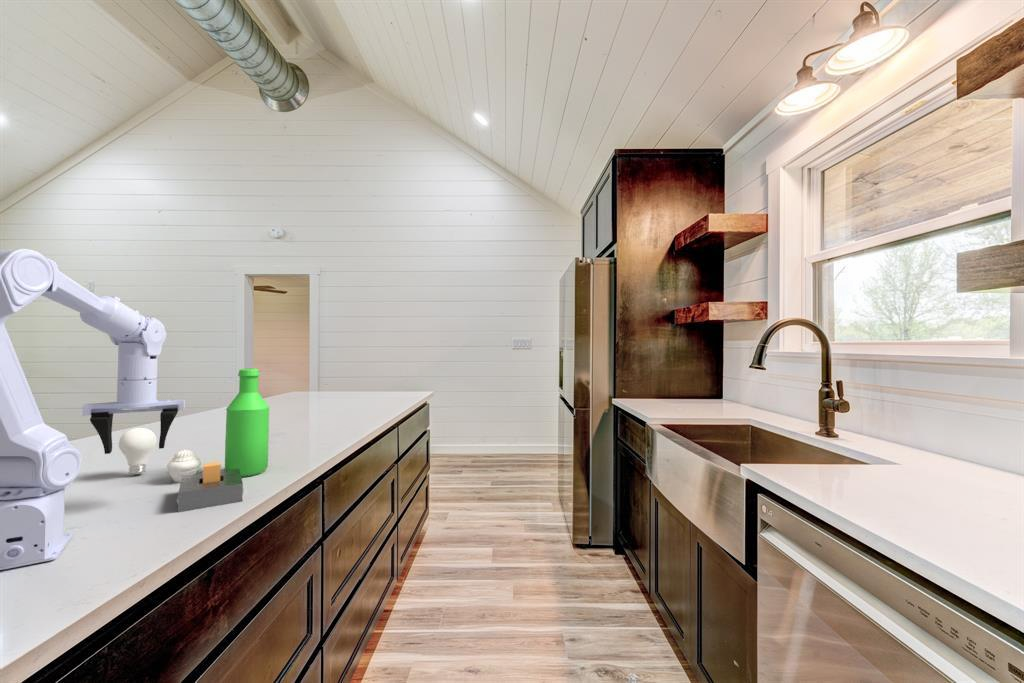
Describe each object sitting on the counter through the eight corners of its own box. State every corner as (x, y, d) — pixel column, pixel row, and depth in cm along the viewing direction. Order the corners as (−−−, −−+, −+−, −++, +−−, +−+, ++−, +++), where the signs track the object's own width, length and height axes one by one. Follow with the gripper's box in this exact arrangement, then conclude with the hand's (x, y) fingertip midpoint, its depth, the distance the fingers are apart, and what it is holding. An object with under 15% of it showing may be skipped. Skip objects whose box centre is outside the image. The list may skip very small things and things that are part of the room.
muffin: (180, 485, 92) (181, 453, 92) (159, 482, 93) (159, 451, 93) (207, 477, 98) (208, 447, 98) (187, 474, 99) (187, 445, 99)
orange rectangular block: (219, 490, 87) (220, 461, 87) (219, 494, 85) (220, 464, 85) (202, 493, 86) (203, 463, 86) (202, 497, 83) (203, 467, 83)
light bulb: (124, 472, 100) (125, 426, 100) (159, 469, 103) (161, 424, 103) (112, 481, 94) (113, 431, 94) (150, 477, 97) (151, 429, 97)
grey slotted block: (245, 500, 84) (245, 482, 84) (174, 512, 77) (174, 492, 77) (240, 478, 97) (240, 462, 97) (179, 486, 91) (180, 469, 91)
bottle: (216, 474, 100) (219, 369, 100) (253, 465, 107) (256, 367, 108) (238, 480, 96) (241, 370, 96) (275, 470, 103) (277, 369, 104)
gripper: (186, 376, 88) (184, 441, 88) (89, 378, 80) (87, 450, 80) (184, 379, 83) (182, 448, 83) (80, 381, 74) (78, 458, 74)
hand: (135, 450), depth 81 cm, fingers open, 7 cm apart
